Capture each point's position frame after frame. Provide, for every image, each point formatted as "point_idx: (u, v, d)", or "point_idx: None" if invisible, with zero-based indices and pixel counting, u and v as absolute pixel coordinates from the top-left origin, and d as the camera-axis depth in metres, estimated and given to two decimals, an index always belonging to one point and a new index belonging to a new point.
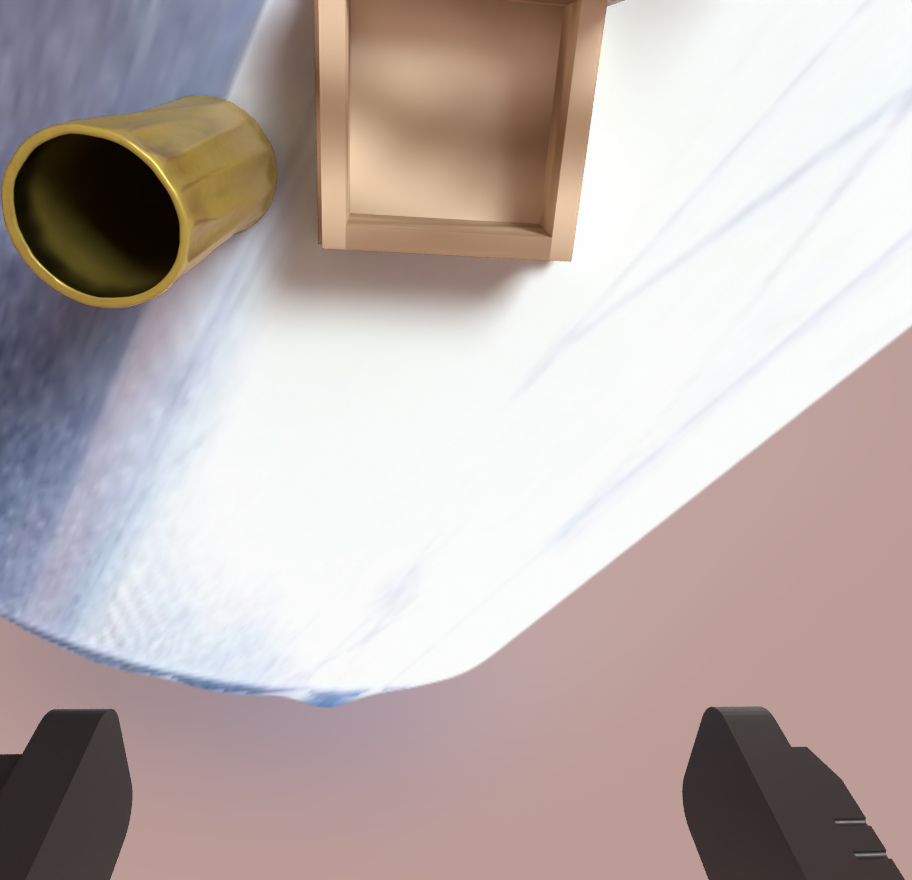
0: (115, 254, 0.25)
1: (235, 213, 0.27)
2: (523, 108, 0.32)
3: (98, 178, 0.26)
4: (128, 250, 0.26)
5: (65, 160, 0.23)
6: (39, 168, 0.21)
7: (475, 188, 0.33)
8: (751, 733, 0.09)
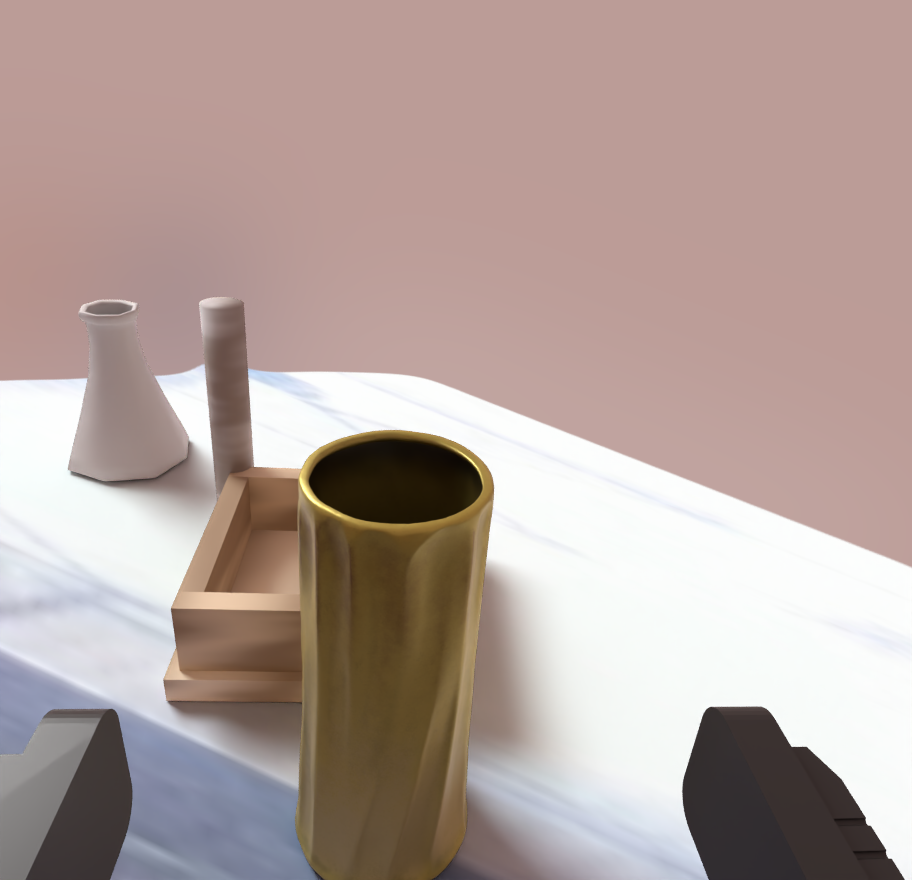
0: None
1: None
2: None
3: None
4: None
5: None
6: None
7: None
8: (751, 733, 0.09)
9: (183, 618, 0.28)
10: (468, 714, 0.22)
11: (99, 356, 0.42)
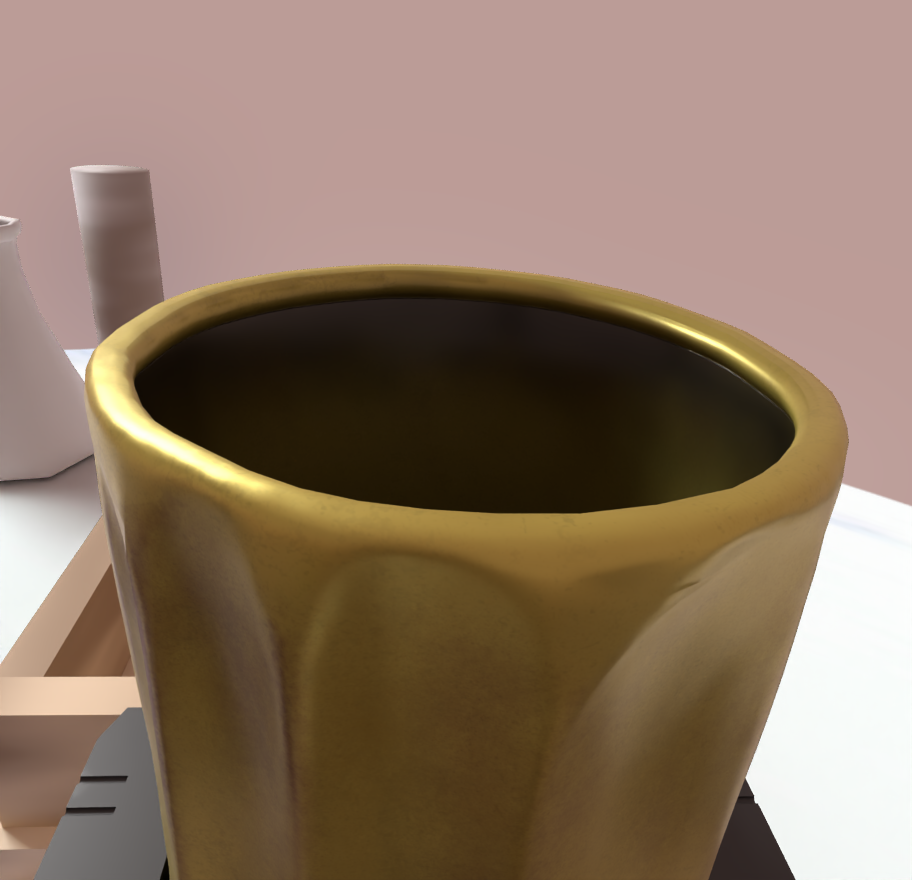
0: None
1: None
2: None
3: None
4: None
5: None
6: None
7: None
8: None
9: None
10: None
11: None
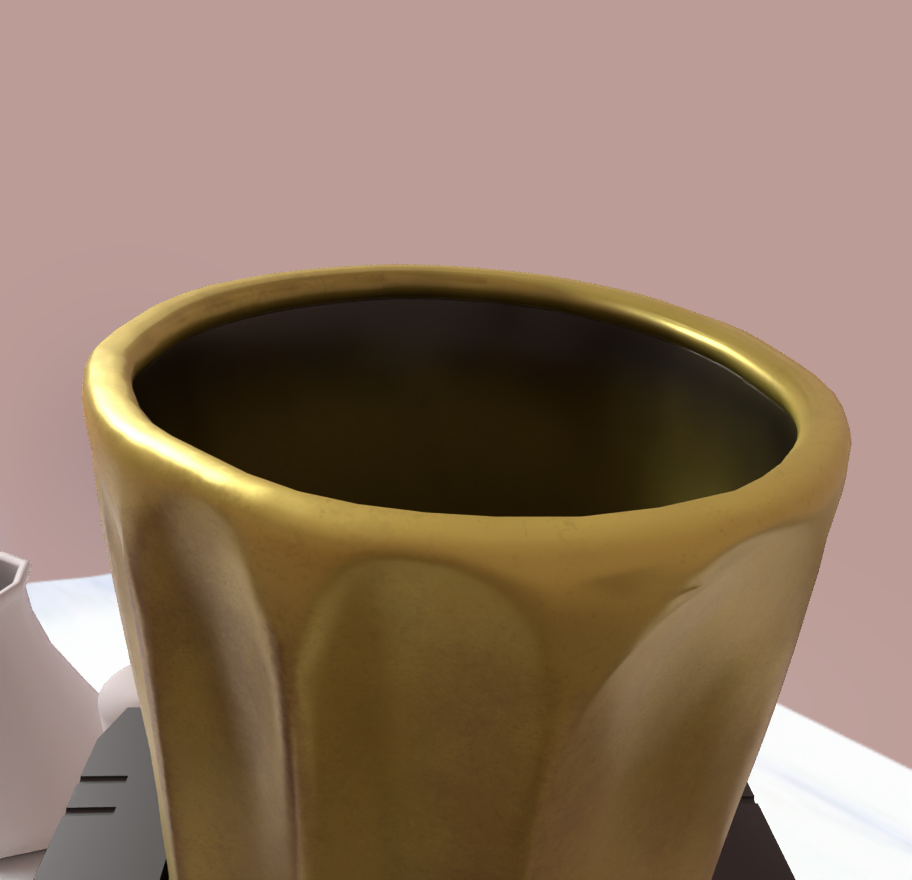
0: None
1: None
2: None
3: None
4: None
5: None
6: None
7: None
8: None
9: None
10: None
11: None
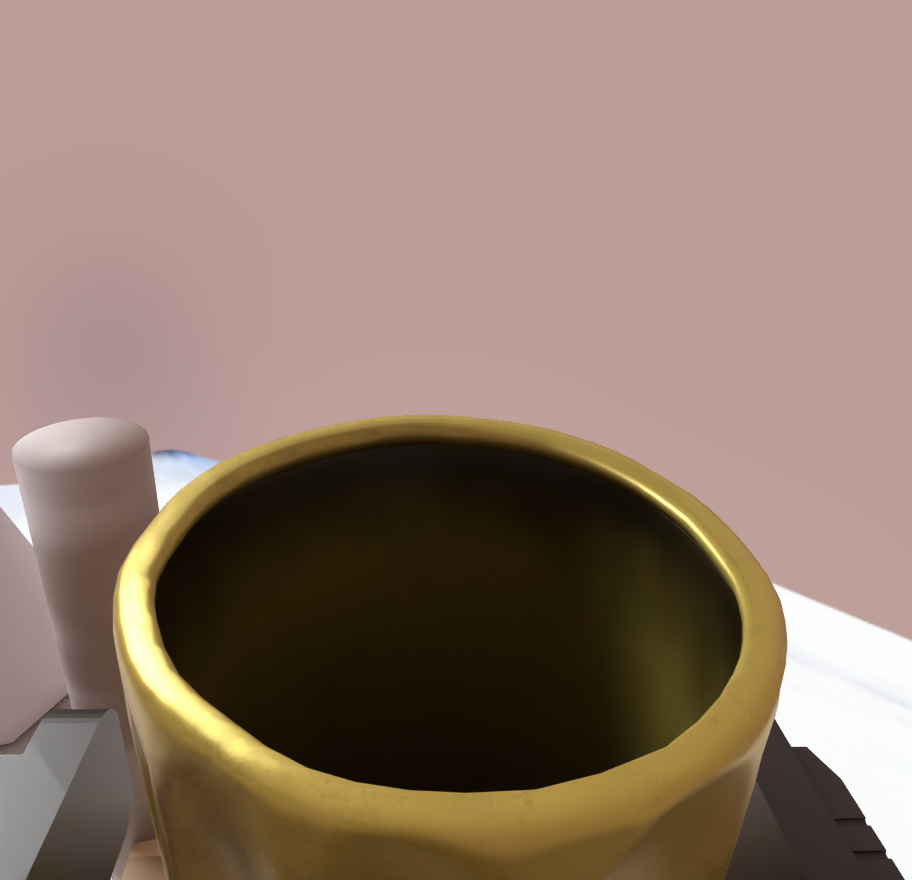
0: None
1: None
2: None
3: None
4: None
5: None
6: None
7: None
8: None
9: None
10: None
11: None
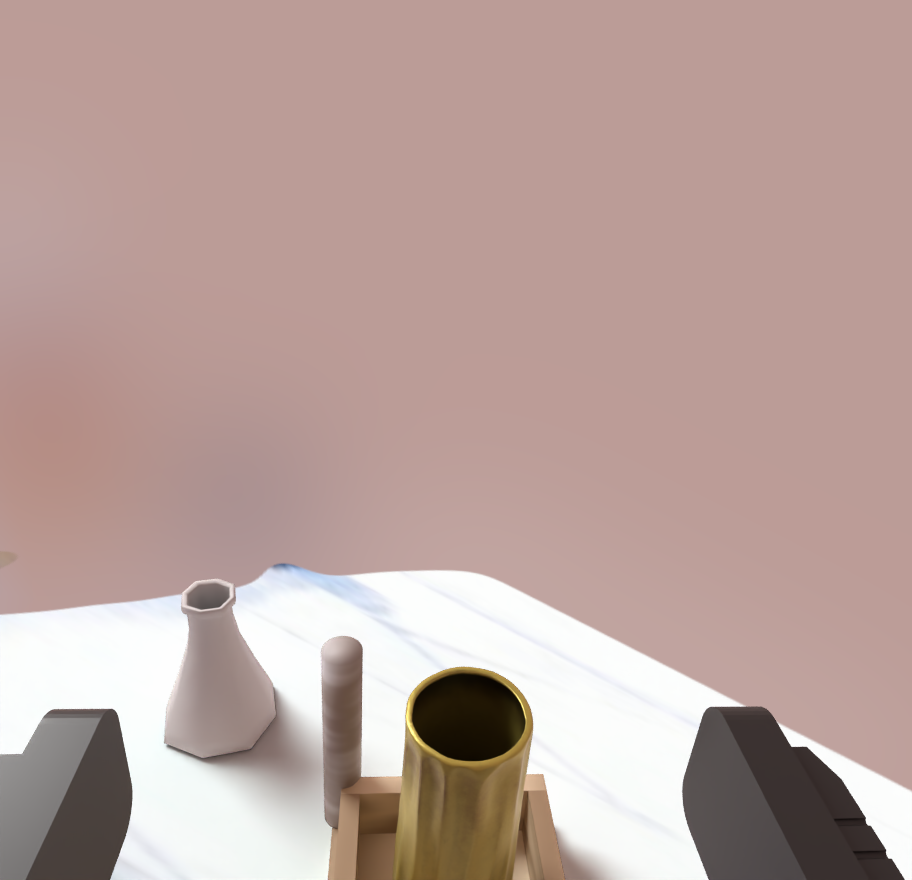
0: None
1: None
2: None
3: None
4: None
5: None
6: None
7: None
8: (751, 733, 0.09)
9: None
10: (513, 858, 0.32)
11: (199, 642, 0.43)
